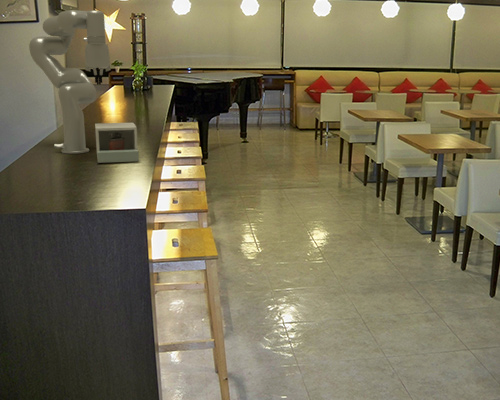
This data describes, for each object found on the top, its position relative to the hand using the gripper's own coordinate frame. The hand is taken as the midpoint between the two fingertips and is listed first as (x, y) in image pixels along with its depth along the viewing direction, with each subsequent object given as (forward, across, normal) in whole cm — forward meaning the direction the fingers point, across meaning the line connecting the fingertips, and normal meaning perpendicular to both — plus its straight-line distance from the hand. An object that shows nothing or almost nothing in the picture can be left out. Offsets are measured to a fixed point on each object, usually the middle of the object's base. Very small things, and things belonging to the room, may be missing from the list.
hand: (98, 84), depth 260 cm
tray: (+31, +6, -7) cm, 33 cm away
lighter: (+30, +6, -6) cm, 32 cm away
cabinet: (+32, +6, -3) cm, 33 cm away
